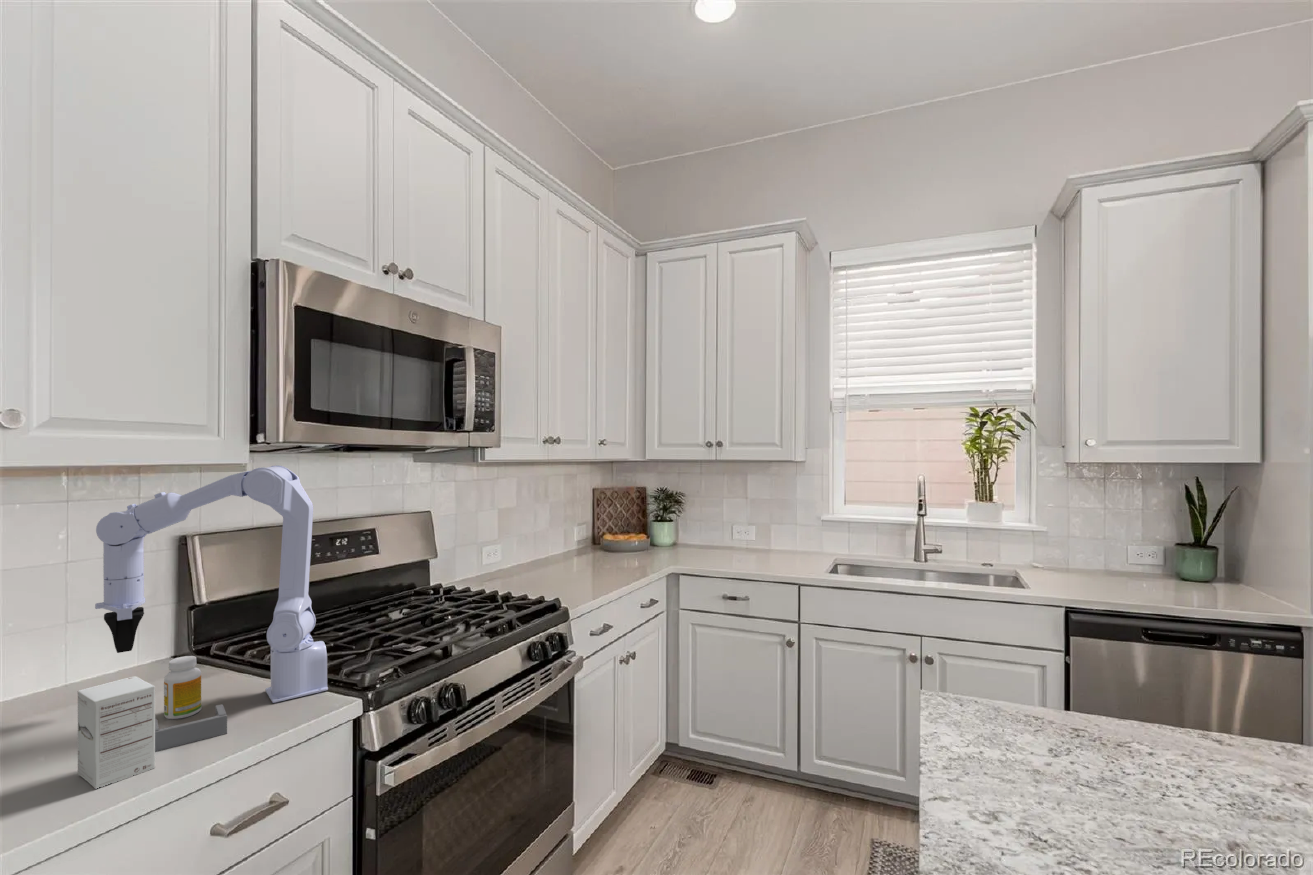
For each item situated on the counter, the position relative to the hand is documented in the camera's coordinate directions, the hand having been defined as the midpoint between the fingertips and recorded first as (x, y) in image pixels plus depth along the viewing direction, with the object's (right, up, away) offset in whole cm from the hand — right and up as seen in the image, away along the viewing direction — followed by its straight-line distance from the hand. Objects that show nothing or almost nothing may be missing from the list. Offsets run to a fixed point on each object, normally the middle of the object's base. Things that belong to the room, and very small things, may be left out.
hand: (124, 650), depth 118 cm
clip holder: (+20, -10, -11) cm, 25 cm away
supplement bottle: (+13, -11, -3) cm, 17 cm away
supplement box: (+18, -11, -23) cm, 31 cm away
